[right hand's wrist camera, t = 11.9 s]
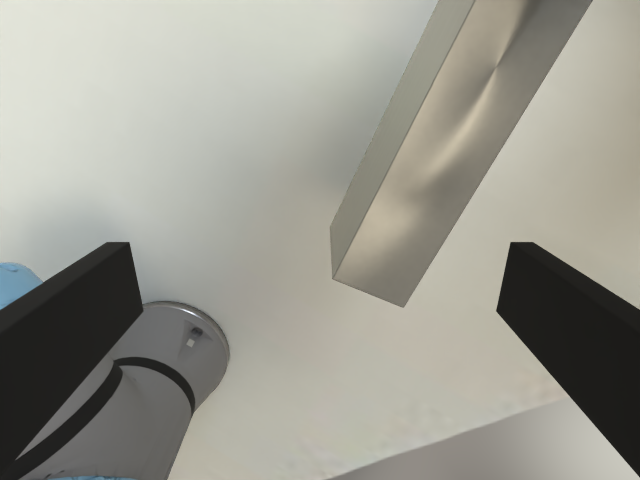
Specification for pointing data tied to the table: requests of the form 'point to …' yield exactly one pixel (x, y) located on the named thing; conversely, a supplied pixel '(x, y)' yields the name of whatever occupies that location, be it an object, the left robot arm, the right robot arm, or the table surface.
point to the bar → (443, 135)
